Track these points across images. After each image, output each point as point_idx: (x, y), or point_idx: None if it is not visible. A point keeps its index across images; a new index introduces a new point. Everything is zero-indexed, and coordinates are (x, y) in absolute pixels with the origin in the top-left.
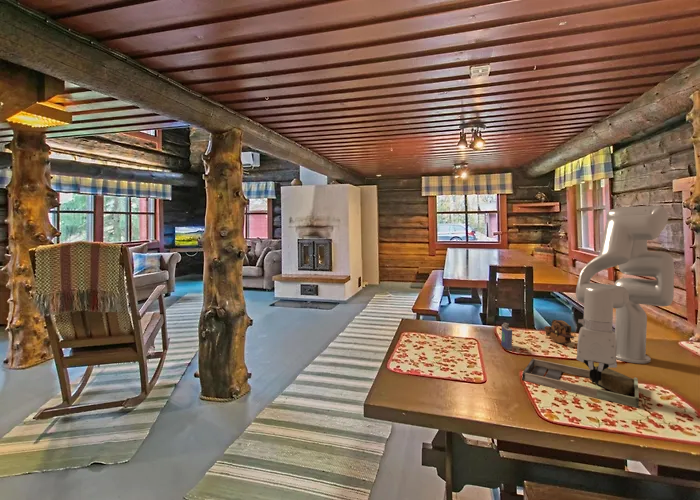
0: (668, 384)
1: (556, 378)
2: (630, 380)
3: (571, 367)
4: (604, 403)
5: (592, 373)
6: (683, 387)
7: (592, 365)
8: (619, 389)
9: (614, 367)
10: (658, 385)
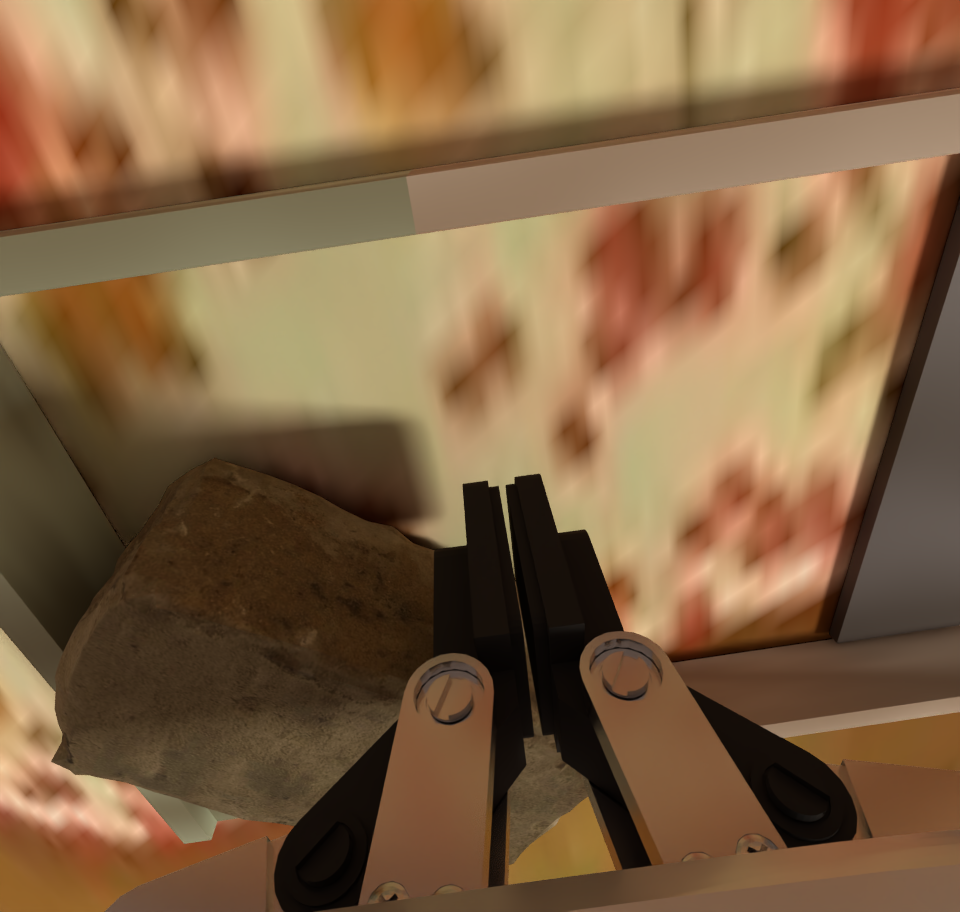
0: (106, 886)
1: (930, 422)
2: (62, 716)
3: (783, 717)
4: (257, 3)
5: (566, 572)
6: (23, 898)
7: (619, 737)
8: (191, 498)
9: (160, 882)
10: (136, 845)
